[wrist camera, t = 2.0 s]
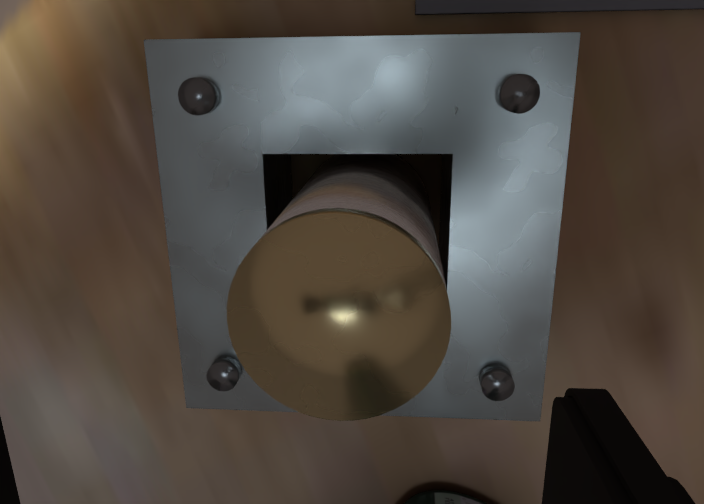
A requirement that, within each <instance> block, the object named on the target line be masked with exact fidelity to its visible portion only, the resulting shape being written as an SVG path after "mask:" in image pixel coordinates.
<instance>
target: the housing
mask: <svg viewBox="0 0 704 504" xmlns="http://www.w3.org/2000/svg"><path fill="white" fill-rule="evenodd" d="M579 42H580V32H569V33H511V34H452V35H394V36H335V37H277V38H218V39H160V40H144V46H145V55H146V64H147V72H148V81H149V89H150V98H151V107H152V115H153V124H154V132H155V141H156V150H157V158H158V167H159V175H160V184H161V193H162V201H163V210H164V218H165V227H166V236H167V244H168V253H169V261H170V270H171V279H172V287H173V296H174V304H175V313H176V322H177V330H178V339H179V347H180V356H181V365H182V373H183V382H184V390H185V399H186V408H203V409H230V410H256V411H282V412H298V411H295V410H293V409H291V408H289V407H287V406H285V405H283V404H282V403H280V402H278V401H277V400H275V399H274V398H272V397H271V396H270V395H268V394H267V393H266V392H265V391H263V390H262V389H261V388H260V387H259V386H258V385H257V384H256V383H255V382H254V381H253V379H252V378H251V377H250V376H249V374H248V373H247V372H246V371H245V369H244V367H243V366H242V364H241V363H240V361H239V359H238V357H237V355H236V353H235V350H234V348H233V346H232V342H231V339H230V336H229V331H228V324H227V301H228V294H229V290H230V286H231V283H232V280H233V278H234V275H235V273H236V271H237V269H238V267H239V265H240V264H241V262H242V260H243V259H244V257H245V256H246V255H247V254H248V252H249V251H250V250H251V249H252V248H253V246H254V245H255V244H256V243H257V242H258V240H259V239H260V238H261V237H262V236H263V234H264V233H265V232H266V231H267V230H268V228H269V227H270V226H271V225H272V224H273V222H274V221H275V220H276V219H277V218H278V216H279V215H280V214H281V213H282V212H283V210H284V209H285V208H286V207H287V205H288V204H289V203H290V202H291V201H292V183H291V160H290V154H442V173H441V200H440V227H439V254H440V259H441V264H442V269H443V274H444V279H445V284H446V289H447V294H448V299H449V304H450V310H451V333H450V341H449V344H448V348H447V352H446V354H445V357H444V359H443V361H442V364H441V366H440V367H439V369H438V371H437V372H436V374H435V376H434V377H433V378H432V380H431V381H430V382H429V383H428V384H427V386H426V387H425V388H424V389H423V390H422V391H421V392H419V393H418V394H417V395H416V396H415V397H414V398H412V399H411V400H409V401H408V402H407V403H405V404H403V405H402V406H400V407H398V408H396V409H394V410H392V411H390V412H387V413H384V414H382V415H387V416H414V417H440V418H466V419H493V420H519V421H540V417H541V408H542V398H543V388H544V379H545V369H546V360H547V350H548V340H549V331H550V321H551V311H552V302H553V292H554V283H555V273H556V263H557V254H558V244H559V234H560V225H561V215H562V206H563V196H564V186H565V177H566V167H567V157H568V148H569V138H570V129H571V119H572V109H573V100H574V90H575V81H576V71H577V61H578V52H579Z"/></svg>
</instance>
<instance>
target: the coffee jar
mask: <svg viewBox="0 0 704 504" xmlns="http://www.w3.org/2000/svg"><path fill="white" fill-rule="evenodd" d="M404 504H487V503H486V502H483V501H481V500H478V499H476V498H474V497H471V496H468V495H465V494H460V493H456V492H452V491H443V490H436V491H427V492H422V493H419V494H417V495H415V496H413V497H412V498H410V499H409V500H407V501H406V502H405V503H404Z"/></svg>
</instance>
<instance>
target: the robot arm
mask: <svg viewBox="0 0 704 504" xmlns="http://www.w3.org/2000/svg"><path fill="white" fill-rule="evenodd" d="M0 504H20V500H19V496H18V491H17V487H16V483H15V478H14V474H13V469H12V465H11V461H10V456H9V452H8V447H7V443H6V439H5V434H4V430H3V426H2V421H1V417H0ZM542 504H695V503H694V501H693V500H692V498H691V497H690V496H689V494H688V493H687V491H686V490H685V489H684V487H683V486H682V485H681V484H680V483H679V482H678V481H677V480H676V479H673V478H671V477H667V476H666V475H665V473H664V472H663V470H662V469H661V467H660V466H659V464H658V463H657V461H656V460H655V459H654V457H653V456H652V454H651V453H650V451H649V450H648V448H647V447H646V446H645V444H644V443H643V441H642V440H641V438H640V437H639V435H638V434H637V432H636V431H635V430H634V428H633V427H632V425H631V424H630V422H629V421H628V419H627V418H626V416H625V415H624V414H623V412H622V411H621V409H620V408H619V406H618V405H617V403H616V402H615V400H614V399H613V398H612V396H611V395H610V393H609V392H608V391H607V390H605V389H578V388H569V389H568V390H566V393H565V396H564V397H556V398H555V399H554V401H553V406H552V415H551V424H550V434H549V443H548V452H547V461H546V470H545V480H544V489H543V498H542Z"/></svg>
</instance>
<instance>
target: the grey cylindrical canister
mask: <svg viewBox="0 0 704 504" xmlns="http://www.w3.org/2000/svg"><path fill="white" fill-rule="evenodd" d="M227 324H228V331H229V336H230V339H231V342H232V346H233V348H234V350H235V353H236V355H237V357H238V359H239V361H240V363H241V364H242V366H243V367H244V369H245V371H246V372H247V373H248V374H249V376H250V377H251V378H252V379H253V381H254V382H255V383H256V384H257V385H258V386H259V387H260V388H261V389H262V390H263V391H265V392H266V393H267V394H268V395H270V396H271V397H272V398H274V399H275V400H277V401H278V402H280V403H282V404H283V405H285V406H287V407H289V408H291V409H293V410H295V411H298V412H300V413H303V414H306V415H309V416H312V417H317V418H322V419H328V420H338V421H344V420H360V419H367V418H371V417H375V416H379V415H382V414H384V413H387V412H390V411H392V410H394V409H396V408H398V407H400V406H402V405H403V404H405V403H407V402H408V401H409V400H411V399H412V398H414V397H415V396H416V395H417V394H418V393H419V392H421V391H422V390H423V389H424V388H425V387H426V386H427V384H428V383H429V382H430V381H431V380H432V378H433V377H434V376H435V374H436V372H437V371H438V369H439V367H440V366H441V364H442V361H443V359H444V357H445V354H446V352H447V348H448V344H449V341H450V333H451V310H450V304H449V299H448V294H447V289H446V284H445V279H444V274H443V269H442V264H441V259H440V254H439V249H438V244H437V239H436V234H435V229H434V224H433V219H432V214H431V209H430V204H429V199H428V195H427V191H426V188H425V186H424V184H423V182H422V180H421V178H420V177H419V175H418V174H417V172H416V171H415V170H414V169H413V168H412V167H411V166H410V165H409V164H408V163H407V162H406V161H404V160H403V159H401V158H400V157H398V156H396V155H394V154H337V155H335V156H333V157H331V158H330V159H328V160H327V161H326V162H324V163H323V164H322V165H321V166H320V167H319V168H318V169H317V171H316V172H315V173H314V174H313V175H312V177H311V178H310V179H309V180H308V181H307V183H306V184H305V185H304V186H303V187H302V189H301V190H300V191H299V192H298V193H297V195H296V196H295V197H294V198H293V199H292V201H291V202H290V203H289V204H288V205H287V207H286V208H285V209H284V210H283V212H282V213H281V214H280V215H279V216H278V218H277V219H276V220H275V221H274V222H273V224H272V225H271V226H270V227H269V228H268V230H267V231H266V232H265V233H264V234H263V236H262V237H261V238H260V239H259V240H258V242H257V243H256V244H255V245H254V246H253V248H252V249H251V250H250V251H249V252H248V254H247V255H246V256H245V257H244V259H243V260H242V262H241V264H240V265H239V267H238V269H237V271H236V273H235V275H234V278H233V280H232V283H231V286H230V290H229V294H228V301H227Z"/></svg>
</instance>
